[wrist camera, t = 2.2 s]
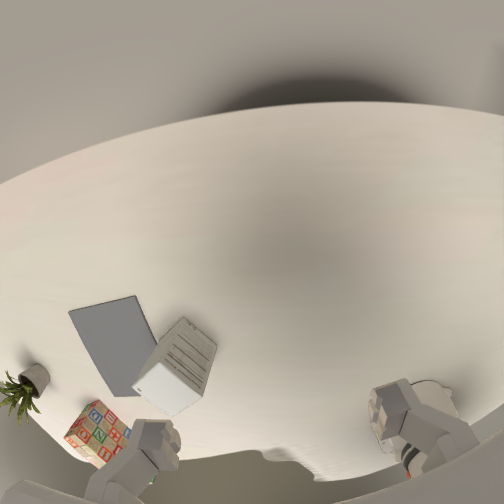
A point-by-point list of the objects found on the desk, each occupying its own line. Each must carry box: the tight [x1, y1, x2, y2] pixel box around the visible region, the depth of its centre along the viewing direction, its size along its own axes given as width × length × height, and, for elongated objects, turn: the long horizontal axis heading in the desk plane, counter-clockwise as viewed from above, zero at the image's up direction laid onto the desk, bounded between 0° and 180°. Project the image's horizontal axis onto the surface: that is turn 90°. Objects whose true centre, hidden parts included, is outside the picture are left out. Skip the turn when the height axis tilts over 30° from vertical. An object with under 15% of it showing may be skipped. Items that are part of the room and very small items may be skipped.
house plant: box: [0, 364, 50, 425], centre depth 44 cm, size 14×14×16 cm
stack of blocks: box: [64, 400, 157, 484], centre depth 48 cm, size 21×6×12 cm, turn 35°
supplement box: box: [132, 318, 217, 417], centre depth 39 cm, size 7×7×13 cm
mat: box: [68, 296, 157, 397], centre depth 47 cm, size 20×16×1 cm
